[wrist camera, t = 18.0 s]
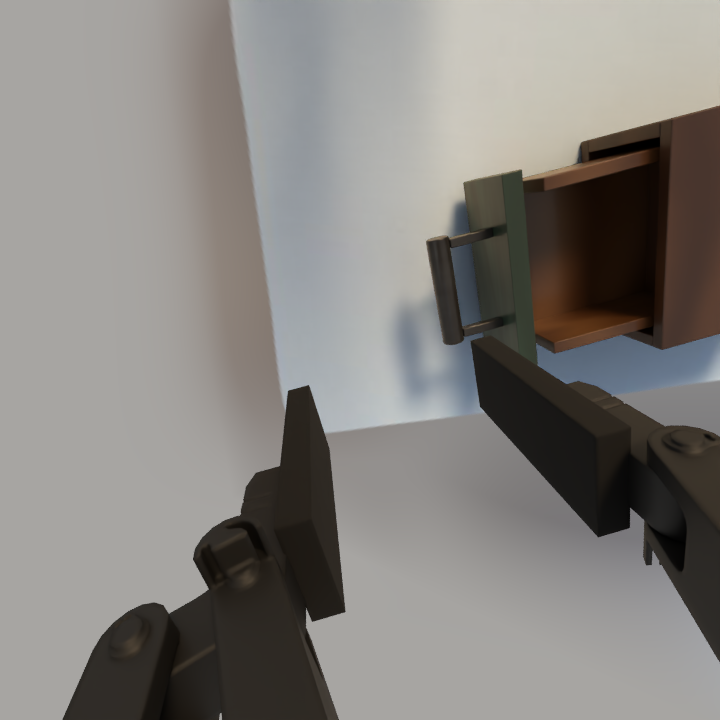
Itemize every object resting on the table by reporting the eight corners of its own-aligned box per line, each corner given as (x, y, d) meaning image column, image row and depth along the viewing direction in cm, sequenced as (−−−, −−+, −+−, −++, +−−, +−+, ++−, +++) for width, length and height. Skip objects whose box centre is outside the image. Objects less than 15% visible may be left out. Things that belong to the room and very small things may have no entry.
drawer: (434, 361, 32) (460, 391, 26) (404, 197, 27) (428, 193, 22) (643, 303, 32) (711, 321, 27) (647, 134, 28) (729, 115, 22)
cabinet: (586, 321, 33) (662, 350, 26) (580, 142, 28) (672, 118, 21) (748, 276, 34) (866, 293, 27) (771, 92, 29) (923, 52, 22)
